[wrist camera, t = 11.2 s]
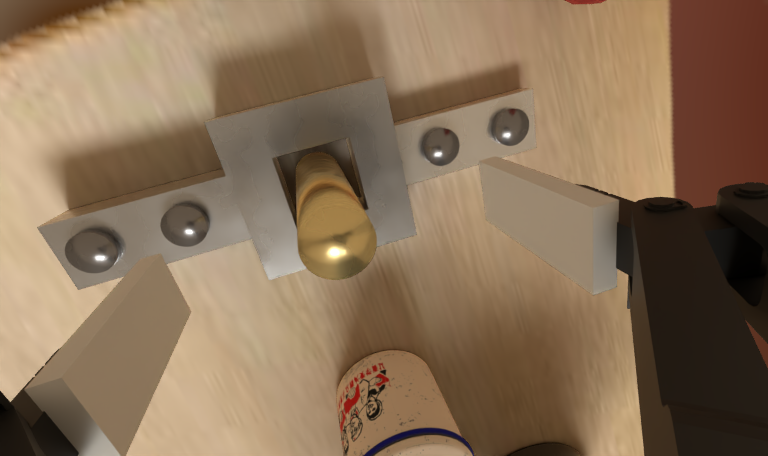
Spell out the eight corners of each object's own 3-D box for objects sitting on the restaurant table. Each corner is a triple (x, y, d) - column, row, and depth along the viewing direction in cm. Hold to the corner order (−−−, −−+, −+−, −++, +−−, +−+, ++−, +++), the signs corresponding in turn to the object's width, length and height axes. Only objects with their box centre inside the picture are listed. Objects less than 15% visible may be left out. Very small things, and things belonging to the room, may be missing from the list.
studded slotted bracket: (527, 182, 29) (557, 195, 26) (125, 304, 25) (100, 337, 22) (517, 41, 25) (550, 35, 22) (39, 162, 21) (-8, 176, 18)
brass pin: (345, 188, 26) (384, 266, 15) (303, 200, 26) (311, 289, 15) (334, 146, 25) (366, 197, 14) (289, 158, 24) (286, 219, 13)
